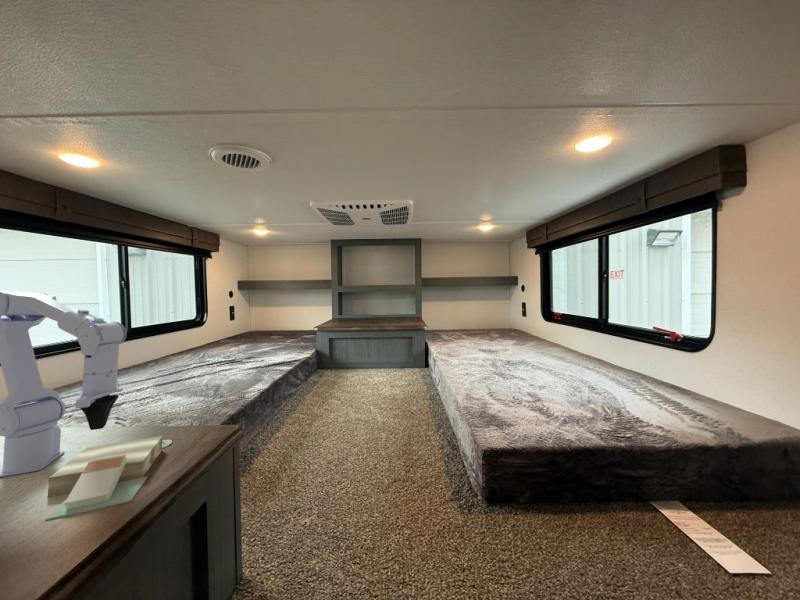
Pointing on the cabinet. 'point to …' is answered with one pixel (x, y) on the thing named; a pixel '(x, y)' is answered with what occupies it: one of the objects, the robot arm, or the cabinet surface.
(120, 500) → the mat
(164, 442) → the sign
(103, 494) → the white striped box
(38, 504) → the cabinet surface
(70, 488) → the cream piece
